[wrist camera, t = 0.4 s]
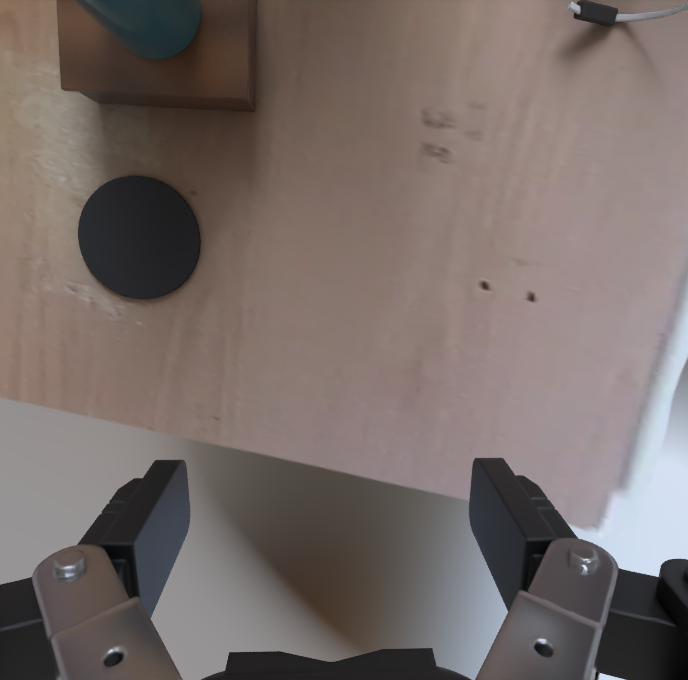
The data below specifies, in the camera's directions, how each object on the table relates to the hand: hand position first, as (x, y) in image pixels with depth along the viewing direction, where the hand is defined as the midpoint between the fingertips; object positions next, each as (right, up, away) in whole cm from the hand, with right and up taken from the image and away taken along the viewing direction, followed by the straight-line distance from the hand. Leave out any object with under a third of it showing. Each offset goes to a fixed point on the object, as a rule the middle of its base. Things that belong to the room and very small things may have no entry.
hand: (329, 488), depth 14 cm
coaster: (-16, +12, +26) cm, 33 cm away
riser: (-12, +27, +23) cm, 37 cm away
